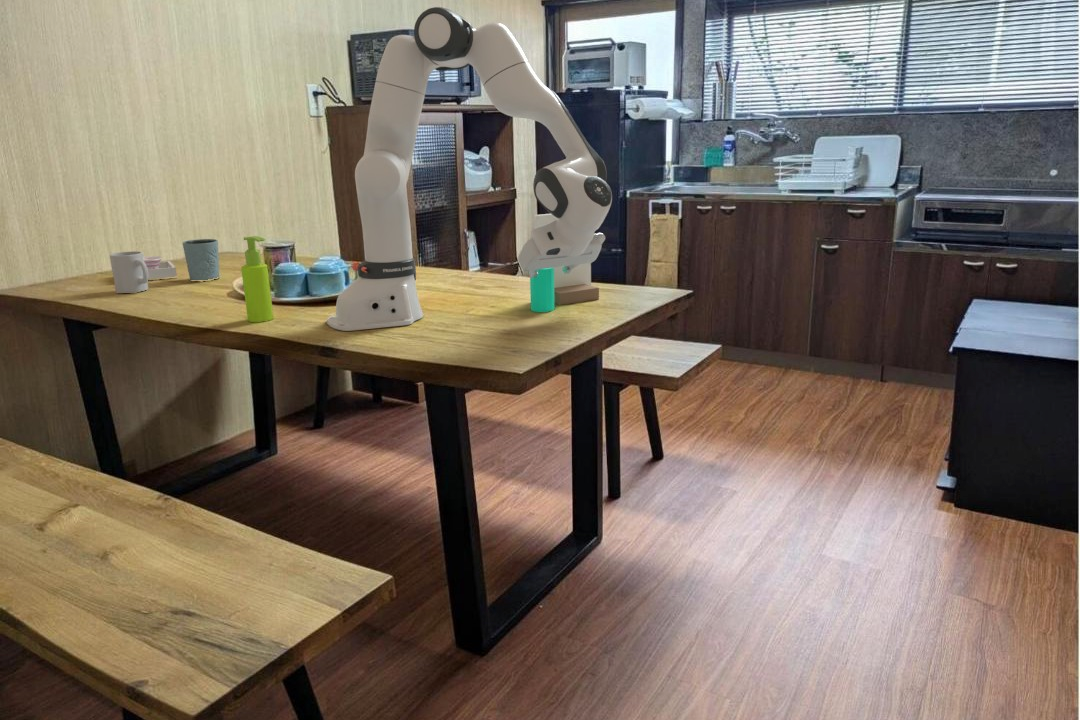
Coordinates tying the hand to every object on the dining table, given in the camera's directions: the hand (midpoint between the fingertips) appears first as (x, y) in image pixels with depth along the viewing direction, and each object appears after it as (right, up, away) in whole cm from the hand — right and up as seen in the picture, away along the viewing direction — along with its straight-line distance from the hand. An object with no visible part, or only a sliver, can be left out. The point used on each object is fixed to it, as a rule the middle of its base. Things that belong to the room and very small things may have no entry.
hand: (549, 273), depth 188 cm
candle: (-1, -8, +6) cm, 10 cm away
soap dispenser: (-69, -11, +1) cm, 70 cm away
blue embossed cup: (-106, +4, +55) cm, 119 cm away
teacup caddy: (-127, +5, +61) cm, 141 cm away
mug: (-119, -1, +39) cm, 125 cm away
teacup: (-126, +5, +61) cm, 140 cm away
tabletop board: (+6, -5, +16) cm, 18 cm away
